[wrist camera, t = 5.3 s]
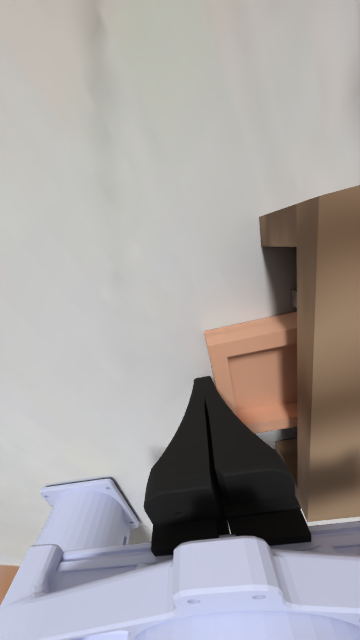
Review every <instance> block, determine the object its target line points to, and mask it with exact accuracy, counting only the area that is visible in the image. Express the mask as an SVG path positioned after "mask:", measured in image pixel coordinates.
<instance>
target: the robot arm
mask: <svg viewBox="0 0 360 640" xmlns="http://www.w3.org/2000/svg"><path fill="white" fill-rule="evenodd" d="M40 494H41V495H42V497H43V498H44V499H45V500H46V501H47V502H48V503H49V504H50V505H51V506H52V507H53V508H52V510H51V512H50V514H49V516H48V518H47V520H46V522H45V524H44V526H43V528H42V530H41V533H40V535H39V537H38V539H37V541H36V543H35V545H33V546H31V547H30V548H29V550H28V552H27V554H26V556H25V558H24V560H23V562H22V564H21V566H20V568H19V570H18V572H17V574H16V576H15V578H14V580H13V582H12V584H11V586H10V588H9V590H8V592H7V594H6V596H5V598H4V600H3V602H2V604H1V606H0V640H360V521H355V522H345V523H336V524H326V525H316V526H307V523H306V521H305V519H304V517H303V514H302V512H301V510H300V509H301V507H300V504H299V502H298V500H297V498H296V495H295V480H294V477H293V475H292V473H291V472H290V470H289V468H288V467H287V465H286V464H285V462H284V461H283V459H282V458H281V457H280V455H279V454H278V453H277V451H275V450H274V449H273V448H271V447H270V446H269V445H268V444H266V443H265V442H264V441H262V440H261V439H260V438H259V437H258V436H257V435H255V434H254V433H253V432H252V431H251V430H250V429H249V428H248V427H247V426H246V425H245V424H244V423H243V422H242V421H241V420H240V419H239V418H238V417H237V416H236V415H235V414H234V413H233V411H232V410H231V409H230V408H229V407H228V405H227V404H226V403H225V401H224V400H223V399H222V397H221V396H220V394H219V393H218V391H217V389H216V388H215V386H214V384H213V382H212V379H211V377H210V376H206V377H201V378H196V379H195V380H194V385H193V390H192V394H191V397H190V401H189V404H188V407H187V409H186V412H185V415H184V417H183V419H182V422H181V424H180V426H179V428H178V430H177V432H176V433H175V435H174V437H173V439H172V440H171V442H170V444H169V445H168V447H167V448H166V450H165V451H164V453H163V454H162V456H161V457H160V458H159V460H158V461H157V462H156V464H155V465H154V466H153V468H152V469H151V472H150V475H149V479H148V483H147V487H146V493H145V501H144V509H145V512H146V513H147V515H148V517H149V518H150V520H151V522H152V524H153V532H152V542H150V543H140V544H130V545H128V544H129V538H130V533H131V529H136V528H138V527H139V521H138V519H137V518H136V516H135V515H134V513H133V512H132V510H131V509H130V507H129V505H128V504H127V502H126V501H125V499H124V498H123V496H122V495H121V493H120V491H119V490H118V488H117V487H116V485H115V484H114V482H113V481H112V480H111V479H100V480H93V481H86V482H79V483H71V484H64V485H57V486H50V487H44V488H42V490H41V492H40ZM227 520H228V521H227ZM228 524H229V527H230V530H231V534H230V532H229V527H228Z"/></svg>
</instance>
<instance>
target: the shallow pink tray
mask: <svg viewBox="0 0 360 640" xmlns="http://www.w3.org/2000/svg"><path fill="white" fill-rule="evenodd" d="M204 334H205V339H206V344H207V348H208V353H209V357H210V362H211V367H212V371H213V376H214V380H215V385H216V389H217V391H218V393H219V394H220V396H221V397H222V399H223V400H224V401H225V403H226V404H227V405H228V407H229V408H230V409H231V410H232V411H233V413H234V414H235V415H236V416H237V417H238V418H239V419H240V420H241V421H242V422H243V423H244V424H245V425H246V426H247V427H248V428H249V429H250V430H251V431H252V432H253V433H259V432H265V431H272V430H278V429H285V428H291V427H297V311H296V312H291V313H287V314H282V315H277V316H273V317H268V318H263V319H259V320H254V321H249V322H245V323H240V324H235V325H231V326H226V327H221V328H217V329H212V330H207V331H204Z"/></svg>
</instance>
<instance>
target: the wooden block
mask: <svg viewBox="0 0 360 640" xmlns="http://www.w3.org/2000/svg"><path fill="white" fill-rule="evenodd" d="M259 218H260V232H261V246H279V247H297V289H293V290H291V305H292V306H294V307H296V308H297V439H290V440H284V441H277V442H275V444H276V451H277V453H278V454H279V455H280V457H281V458H282V459H283V461H284V462H285V464H286V465H287V467H288V468H289V470H290V472H291V473H292V475H293V477H294V480H295V495H296V497H297V500H298V502H299V504H300V506H301V508H302V511H303V513H304V515H305V517H306V519H307V522H311V521H320V520H330V519H340V518H350V517H359V516H360V185H359V186H355V187H351V188H348V189H344V190H340V191H337V192H333V193H329V194H325V195H322V196H318V197H315V198H313V199H310V200H307V201H304V202H301V203H298V204H295V205H292V206H290V207H287V208H284V209H281V210H278V211H275V212H272V213H269V214H267V215H264V216H261V217H259Z"/></svg>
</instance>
